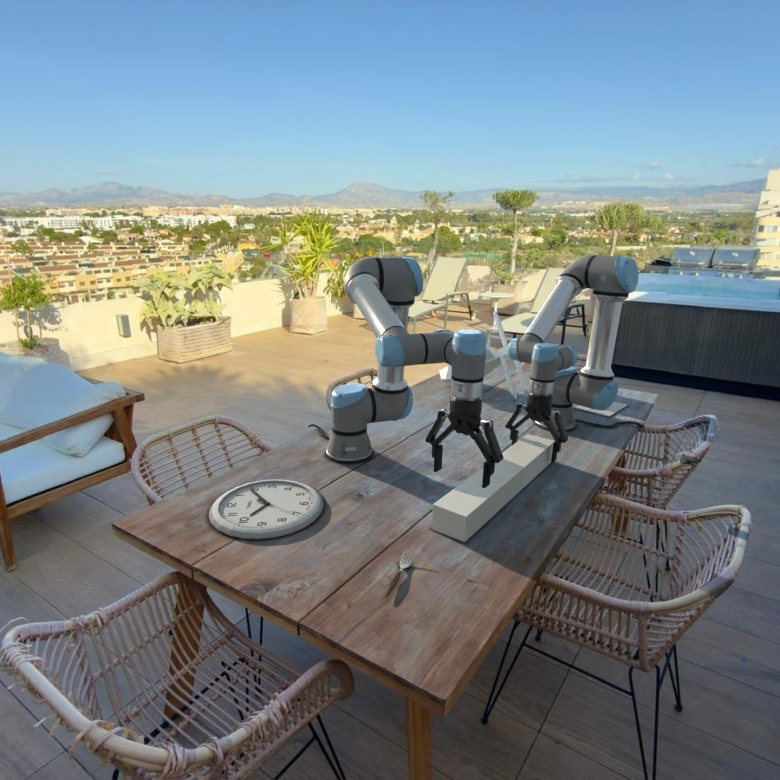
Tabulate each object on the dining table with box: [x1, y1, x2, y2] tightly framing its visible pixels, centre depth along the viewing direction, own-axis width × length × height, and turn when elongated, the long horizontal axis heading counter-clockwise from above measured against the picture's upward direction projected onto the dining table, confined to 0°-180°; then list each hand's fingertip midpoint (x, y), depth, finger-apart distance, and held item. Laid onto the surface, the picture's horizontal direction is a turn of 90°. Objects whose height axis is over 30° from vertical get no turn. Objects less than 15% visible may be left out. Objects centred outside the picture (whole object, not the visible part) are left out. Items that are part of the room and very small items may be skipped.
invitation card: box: [573, 401, 629, 418], centre depth 226 cm, size 21×1×15 cm
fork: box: [385, 547, 415, 599], centre depth 114 cm, size 3×16×2 cm, turn 160°
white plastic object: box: [438, 310, 530, 400], centre depth 245 cm, size 37×45×31 cm
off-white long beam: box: [431, 433, 555, 543], centre depth 152 cm, size 60×10×7 cm, turn 143°
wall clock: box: [208, 478, 324, 540], centre depth 141 cm, size 30×2×30 cm
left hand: (461, 477), depth 129 cm, fingers open, 13 cm apart
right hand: (533, 455), depth 171 cm, fingers open, 13 cm apart
